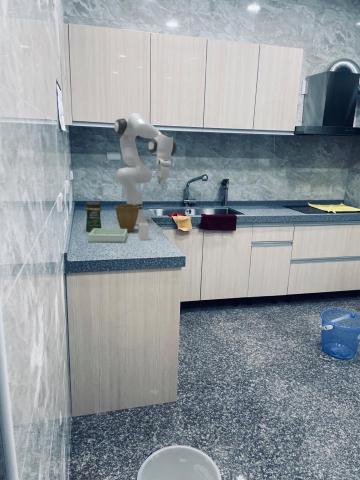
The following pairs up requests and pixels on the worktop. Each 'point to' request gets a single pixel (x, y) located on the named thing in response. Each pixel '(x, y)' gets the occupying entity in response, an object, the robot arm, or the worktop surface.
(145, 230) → the cup post
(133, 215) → the plant pot
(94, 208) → the coffee jar
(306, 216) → the worktop surface
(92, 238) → the tray
